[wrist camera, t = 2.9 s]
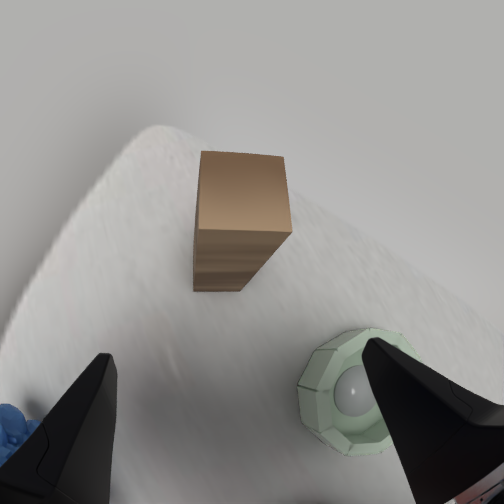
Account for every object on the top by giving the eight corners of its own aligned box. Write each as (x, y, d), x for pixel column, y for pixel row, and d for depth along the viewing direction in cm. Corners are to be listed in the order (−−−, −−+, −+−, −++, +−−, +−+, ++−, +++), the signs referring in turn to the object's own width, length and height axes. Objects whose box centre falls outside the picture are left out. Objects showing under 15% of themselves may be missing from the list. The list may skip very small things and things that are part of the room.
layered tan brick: (239, 291, 22) (292, 231, 11) (193, 291, 22) (198, 229, 10) (238, 247, 23) (283, 156, 12) (193, 246, 23) (201, 150, 12)
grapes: (153, 491, 16) (136, 588, 5) (99, 519, 13) (58, 601, 2) (57, 374, 17) (-44, 385, 6) (9, 410, 15) (-85, 432, 4)
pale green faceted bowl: (349, 464, 19) (370, 476, 16) (271, 394, 20) (286, 401, 17) (414, 382, 23) (439, 383, 20) (352, 307, 24) (375, 300, 21)
